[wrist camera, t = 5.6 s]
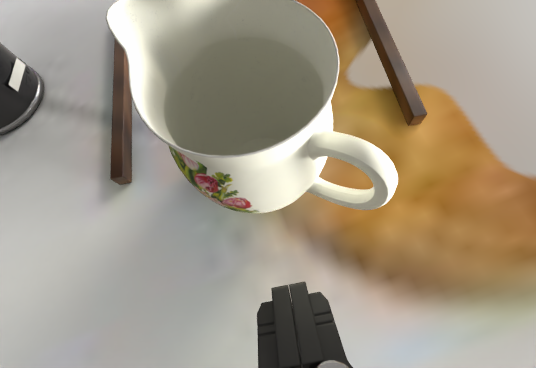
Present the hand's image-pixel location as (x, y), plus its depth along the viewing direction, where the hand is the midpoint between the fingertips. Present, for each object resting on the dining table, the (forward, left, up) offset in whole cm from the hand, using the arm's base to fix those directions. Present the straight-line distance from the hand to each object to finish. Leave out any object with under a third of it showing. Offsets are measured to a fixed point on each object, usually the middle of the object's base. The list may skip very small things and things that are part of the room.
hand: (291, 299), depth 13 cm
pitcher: (+4, +10, -11) cm, 15 cm away
